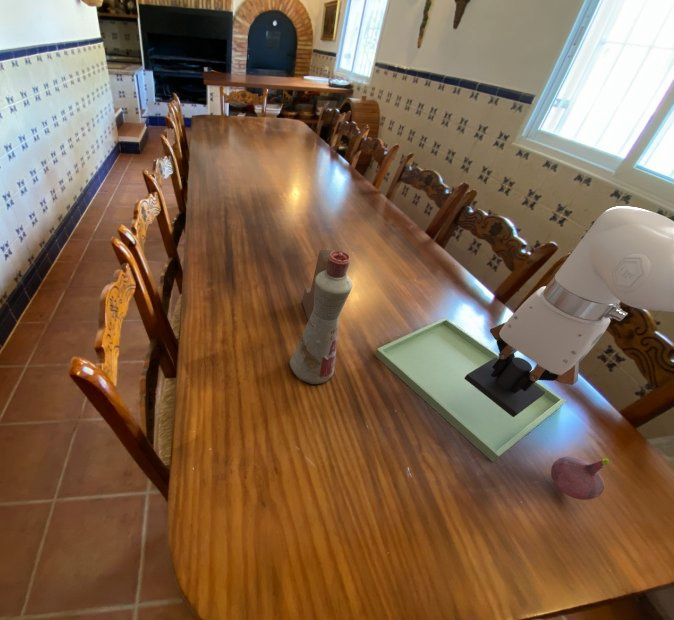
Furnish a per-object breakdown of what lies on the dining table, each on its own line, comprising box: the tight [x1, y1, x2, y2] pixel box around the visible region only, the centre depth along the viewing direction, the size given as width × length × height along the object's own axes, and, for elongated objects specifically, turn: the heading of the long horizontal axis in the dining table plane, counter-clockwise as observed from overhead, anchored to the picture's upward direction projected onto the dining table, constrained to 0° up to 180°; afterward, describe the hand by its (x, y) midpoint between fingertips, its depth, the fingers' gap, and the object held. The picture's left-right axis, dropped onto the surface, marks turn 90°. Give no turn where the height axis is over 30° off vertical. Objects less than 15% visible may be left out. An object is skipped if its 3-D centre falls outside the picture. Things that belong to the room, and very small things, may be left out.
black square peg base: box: [464, 356, 545, 417], centre depth 60 cm, size 9×9×6 cm
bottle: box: [289, 250, 353, 385], centre depth 65 cm, size 9×9×28 cm
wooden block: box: [301, 249, 339, 322], centre depth 82 cm, size 9×4×18 cm, turn 5°
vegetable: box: [550, 456, 610, 501], centre depth 55 cm, size 6×6×10 cm
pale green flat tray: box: [374, 316, 567, 463], centre depth 74 cm, size 28×24×2 cm
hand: (507, 380), depth 61 cm, fingers closed on black square peg base, 3 cm apart
